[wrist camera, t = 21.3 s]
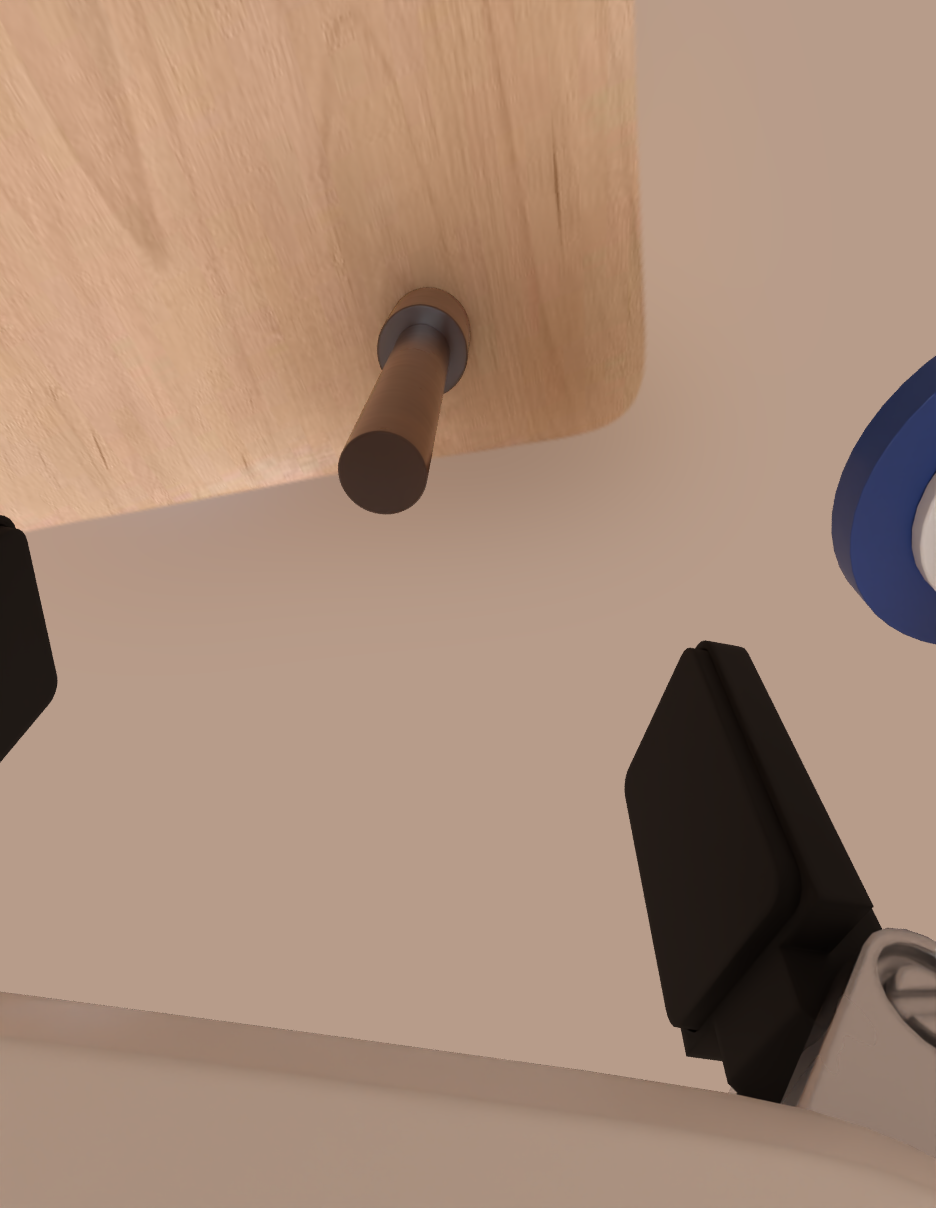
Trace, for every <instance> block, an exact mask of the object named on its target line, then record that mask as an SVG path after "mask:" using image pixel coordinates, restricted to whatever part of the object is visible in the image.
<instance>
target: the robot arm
mask: <svg viewBox="0 0 936 1208" xmlns="http://www.w3.org/2000/svg"><path fill="white" fill-rule="evenodd" d="M912 551H913V555H914V559H915V563H916V566H917V568H918V569H919V571H920V573H921V574H922V576H923V578H924V580H925V581H926V582H927V583H928V584H929V585H930V586H931V587H932V588H933V589H934V590H935V591H936V473H935V475H934V476H933V478H932V479H931V480H930V482H929V483H928V485H927V487H926V489H925V492H924V494H923V496H922V498H921V500H920V502H919V505H918V507H917V511H916V515H915V519H914V523H913V527H912ZM56 688H57V674H56V669H55V665H54V660H53V656H52V651H51V647H50V642H49V637H48V633H47V628H46V624H45V619H44V615H43V611H42V606H41V601H40V596H39V592H38V588H37V583H36V578H35V574H34V569H33V565H32V560H31V556H30V551H29V547H28V542H27V539H26V536H25V534H24V533H23V532H22V531H21V530H19V529H16V528H15V525H14V523H13V522H12V521H11V520H10V519H9V518H7V517H5V516H2V515H0V762H1V761H2V760H3V758H4V757H5V756H6V755H7V754H8V752H9V751H10V750H11V749H12V748H13V746H14V745H15V744H16V743H17V742H18V740H19V739H20V738H21V737H22V736H23V735H24V733H25V732H26V731H27V730H28V729H29V727H30V726H31V725H32V724H33V722H34V721H35V720H36V719H37V718H38V717H39V715H40V714H41V713H42V712H43V711H44V709H45V708H46V707H47V706H48V704H49V703H50V702H51V700H52V699H53V697H54V694H55V692H56ZM625 798H626V803H627V808H628V813H629V819H630V824H631V829H632V835H633V840H634V845H635V850H636V856H637V861H638V866H639V871H640V876H641V882H642V887H643V892H644V898H645V903H646V908H647V913H648V918H649V923H650V929H651V934H652V939H653V945H654V950H655V955H656V960H657V966H658V971H659V976H660V981H661V987H662V992H663V996H664V1002H665V1007H666V1012H667V1016H668V1018H669V1020H670V1023H671V1024H672V1025H673V1026H674V1027H678V1028H681V1032H682V1036H683V1042H684V1047H685V1052H686V1056H688V1057H695V1058H703V1059H710V1060H718V1061H723V1065H724V1069H725V1074H726V1077H727V1082H728V1084H729V1085H730V1086H731V1088H730V1090H729V1092H728V1093H724V1092H718V1091H711V1090H705V1089H699V1088H692V1087H686V1086H680V1085H674V1084H667V1083H660V1082H654V1081H647V1080H642V1079H635V1078H628V1077H622V1076H616V1075H610V1074H604V1073H597V1072H591V1071H584V1070H577V1069H570V1068H562V1067H555V1066H548V1065H541V1064H534V1063H526V1062H519V1061H511V1060H505V1059H497V1058H490V1057H483V1056H475V1055H469V1054H461V1053H454V1052H447V1051H439V1050H432V1049H425V1048H418V1047H411V1046H403V1045H396V1044H389V1043H382V1042H374V1041H367V1040H360V1039H353V1038H346V1037H338V1036H330V1035H323V1034H316V1033H308V1032H300V1031H293V1030H285V1029H278V1028H271V1027H263V1026H255V1025H248V1024H241V1023H233V1022H226V1021H218V1020H210V1019H203V1018H196V1017H188V1016H180V1015H173V1014H166V1013H158V1012H151V1011H143V1010H135V1009H128V1008H119V1007H113V1006H105V1005H97V1004H90V1003H83V1002H75V1001H67V1000H59V999H52V998H45V997H37V996H29V995H21V994H13V993H6V992H0V1208H936V942H935V941H934V940H932V939H930V938H928V937H926V936H924V935H921V934H918V933H915V932H912V931H909V930H906V929H894V928H885V929H883V930H882V928H881V926H880V924H879V922H878V920H877V918H876V916H875V914H874V912H873V910H872V907H873V904H872V902H871V900H870V898H869V896H868V894H867V892H866V890H865V888H864V886H863V884H862V882H861V880H860V878H859V876H858V874H857V872H856V870H855V868H854V866H853V864H852V862H851V860H850V858H849V856H848V854H847V852H846V850H845V848H844V846H843V844H842V842H841V840H840V838H839V836H838V834H837V832H836V830H835V828H834V826H833V824H832V822H831V820H830V818H829V815H828V813H827V811H826V809H825V807H824V805H823V803H822V801H821V799H820V797H819V795H818V794H817V791H816V789H815V787H814V785H813V783H812V781H811V779H810V777H809V775H808V773H807V771H806V769H805V767H804V765H803V763H802V761H801V759H800V757H799V755H798V753H797V751H796V749H795V747H794V745H793V743H792V741H791V739H790V737H789V735H788V733H787V731H786V729H785V727H784V725H783V723H782V721H781V719H780V717H779V715H778V713H777V711H776V709H775V707H774V705H773V703H772V700H771V698H770V697H769V695H768V692H767V690H766V688H765V686H764V684H763V682H762V680H761V678H760V676H759V674H758V672H757V670H756V668H755V666H754V664H753V662H752V660H751V658H750V656H749V654H748V653H747V651H746V650H745V649H744V648H742V647H739V646H734V645H728V644H722V643H717V642H711V641H702V642H700V643H699V644H698V645H697V647H696V648H695V649H694V648H687V649H686V650H685V651H684V652H683V654H682V656H681V657H680V660H679V662H678V664H677V666H676V668H675V670H674V673H673V675H672V677H671V679H670V681H669V683H668V685H667V687H666V690H665V692H664V694H663V696H662V698H661V700H660V703H659V705H658V707H657V709H656V711H655V713H654V715H653V717H652V720H651V722H650V724H649V726H648V728H647V730H646V732H645V735H644V737H643V739H642V741H641V743H640V745H639V747H638V749H637V752H636V754H635V756H634V758H633V760H632V762H631V764H630V767H629V769H628V771H627V774H626V779H625Z"/></svg>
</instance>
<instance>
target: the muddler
mask: <svg viewBox="0 0 936 1208" xmlns="http://www.w3.org/2000/svg"><path fill="white" fill-rule="evenodd" d="M469 339H470V325H469V320H468V317H467V314H466V312H465V310H464V308H463V307H462V305H461V304H460V303H459V302H458V300H457V299H455V298H454V297H453V296H452V295H450V294H449V293H447V292H445V291H443V290H440V289H437V288H429V287H426V288H419V289H416V290H413V291H411V292H409V293H408V294H406V295H405V296H404V297H402V298H401V299H400V301H399V302H398V303H397V304H396V306H395V307H394V309H393V311H392V312H391V314H390V316H389V317H388V319H387V320H386V322H385V324H384V326H383V327H382V329H381V332H380V335H379V338H378V344H377V355H378V361H379V364H380V367H381V369H382V372H381V374H380V376H379V378H378V380H377V382H376V384H375V386H374V388H373V390H372V392H371V394H370V396H369V398H368V400H367V402H366V404H365V406H364V408H363V410H362V412H361V414H360V416H359V418H358V420H357V422H356V424H355V427H354V429H353V431H352V433H351V435H350V437H349V439H348V441H347V443H346V445H345V447H344V449H343V451H342V453H341V456H340V458H339V463H338V475H339V479H340V482H341V485H342V487H343V489H344V491H345V492H346V494H347V495H348V496H349V498H350V499H351V500H352V501H353V502H354V503H356V504H357V505H358V506H360V507H361V508H363V509H365V510H367V511H370V512H373V513H378V514H394V513H399V512H402V511H404V510H406V509H408V508H410V507H411V506H413V505H414V504H415V503H416V502H417V501H418V500H419V499H420V497H421V496H422V494H423V492H424V490H425V487H426V483H427V478H428V473H429V467H430V462H431V457H432V451H433V446H434V441H435V435H436V430H437V425H438V419H439V414H440V408H441V403H442V398H443V394H444V393H446V392H448V391H449V390H451V389H452V388H453V387H454V386H455V385H456V384H457V383H458V382H459V380H460V379H461V377H462V375H463V373H464V371H465V368H466V365H467V359H468V349H469Z"/></svg>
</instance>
